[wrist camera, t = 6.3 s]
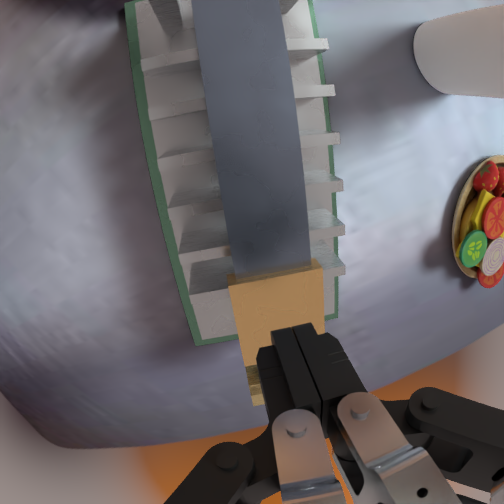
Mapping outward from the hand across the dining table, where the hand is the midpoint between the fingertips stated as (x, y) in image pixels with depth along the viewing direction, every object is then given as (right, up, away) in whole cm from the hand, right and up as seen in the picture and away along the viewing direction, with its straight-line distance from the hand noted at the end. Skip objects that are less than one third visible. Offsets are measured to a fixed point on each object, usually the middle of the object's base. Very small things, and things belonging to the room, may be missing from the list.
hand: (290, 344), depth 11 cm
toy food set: (+23, +7, +14) cm, 28 cm away
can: (+14, +19, +7) cm, 25 cm away
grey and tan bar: (-1, +8, +3) cm, 8 cm away
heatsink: (-2, +9, +9) cm, 13 cm away
